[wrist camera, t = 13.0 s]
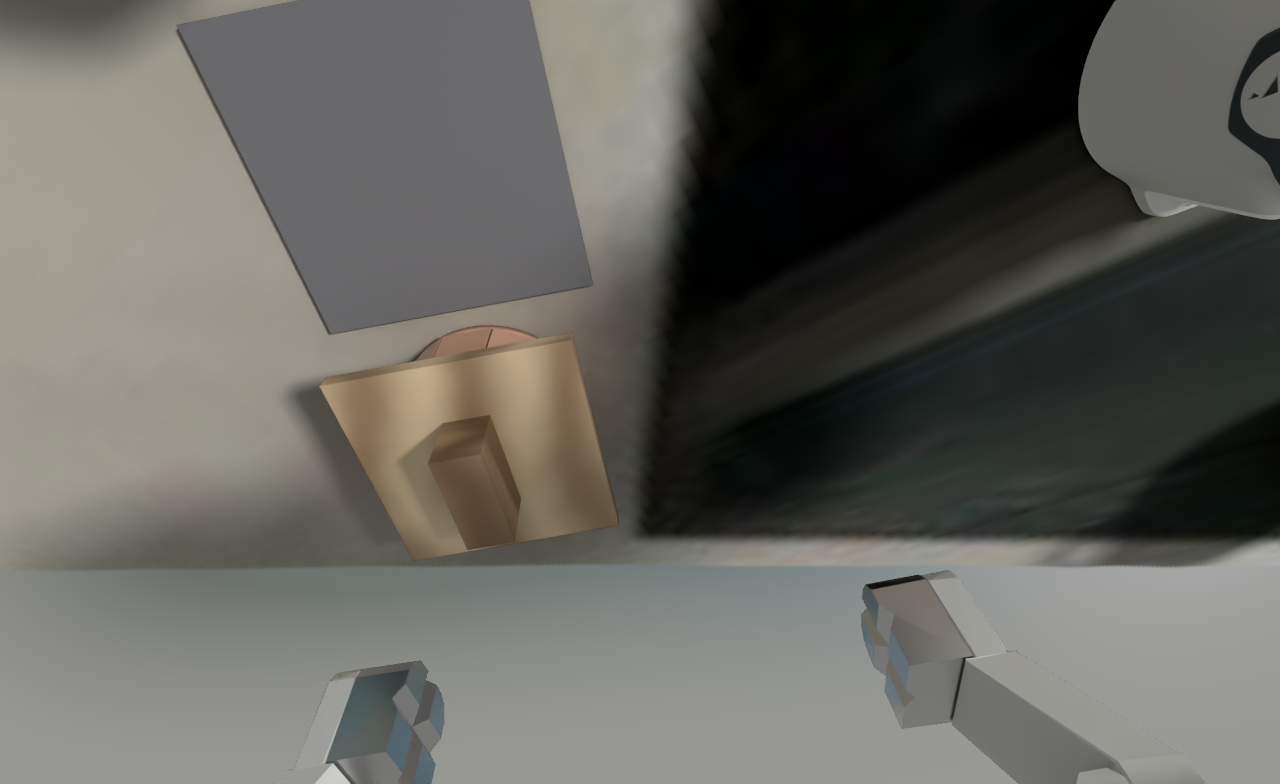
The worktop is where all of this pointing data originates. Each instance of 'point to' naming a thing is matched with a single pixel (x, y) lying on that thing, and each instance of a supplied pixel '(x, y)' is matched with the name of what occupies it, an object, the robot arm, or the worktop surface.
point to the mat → (400, 150)
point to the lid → (479, 446)
